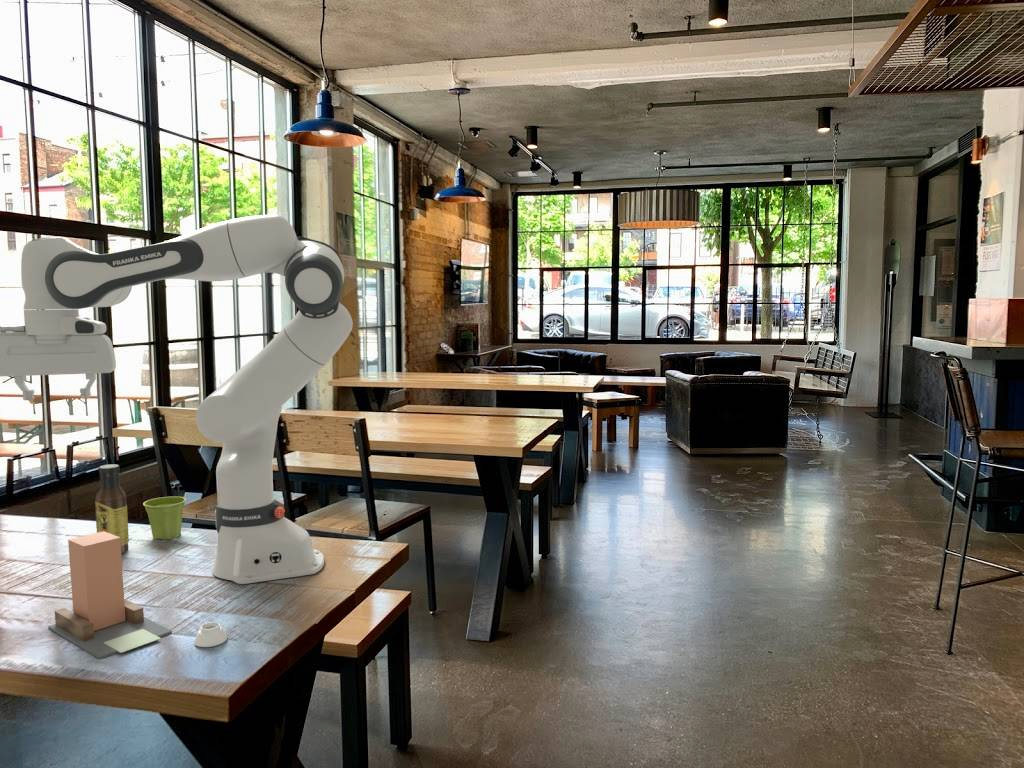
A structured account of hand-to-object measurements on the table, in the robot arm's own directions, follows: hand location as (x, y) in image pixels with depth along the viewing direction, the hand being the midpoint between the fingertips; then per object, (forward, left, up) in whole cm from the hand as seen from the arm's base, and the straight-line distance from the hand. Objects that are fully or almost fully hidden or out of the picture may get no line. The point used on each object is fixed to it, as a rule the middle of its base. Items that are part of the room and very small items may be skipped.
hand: (57, 398), depth 146 cm
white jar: (-30, +29, -38) cm, 57 cm away
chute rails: (-10, +18, -38) cm, 43 cm away
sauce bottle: (-1, -24, -38) cm, 45 cm away
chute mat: (-13, +21, -38) cm, 45 cm away
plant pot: (-10, -34, -38) cm, 52 cm away
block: (-10, +18, -38) cm, 43 cm away
